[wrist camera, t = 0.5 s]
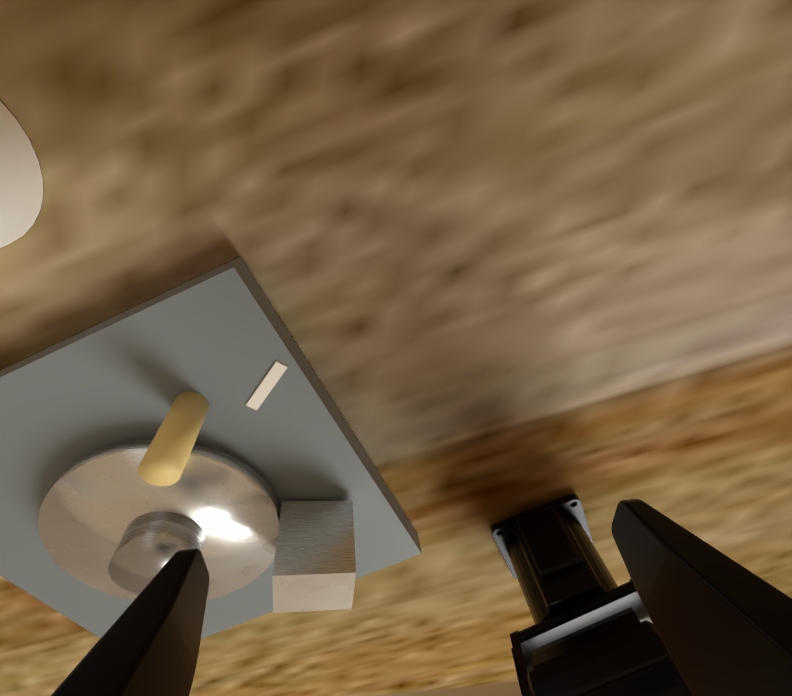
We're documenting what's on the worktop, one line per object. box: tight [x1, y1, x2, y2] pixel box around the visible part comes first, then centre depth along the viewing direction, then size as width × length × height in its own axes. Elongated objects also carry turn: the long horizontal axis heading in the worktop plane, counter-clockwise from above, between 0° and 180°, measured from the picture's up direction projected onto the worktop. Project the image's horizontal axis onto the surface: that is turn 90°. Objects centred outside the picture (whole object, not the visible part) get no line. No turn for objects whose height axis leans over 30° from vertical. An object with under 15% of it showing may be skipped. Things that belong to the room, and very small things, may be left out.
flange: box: [38, 439, 356, 613], centre depth 22 cm, size 12×15×4 cm
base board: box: [0, 257, 422, 639], centre depth 23 cm, size 22×22×6 cm
